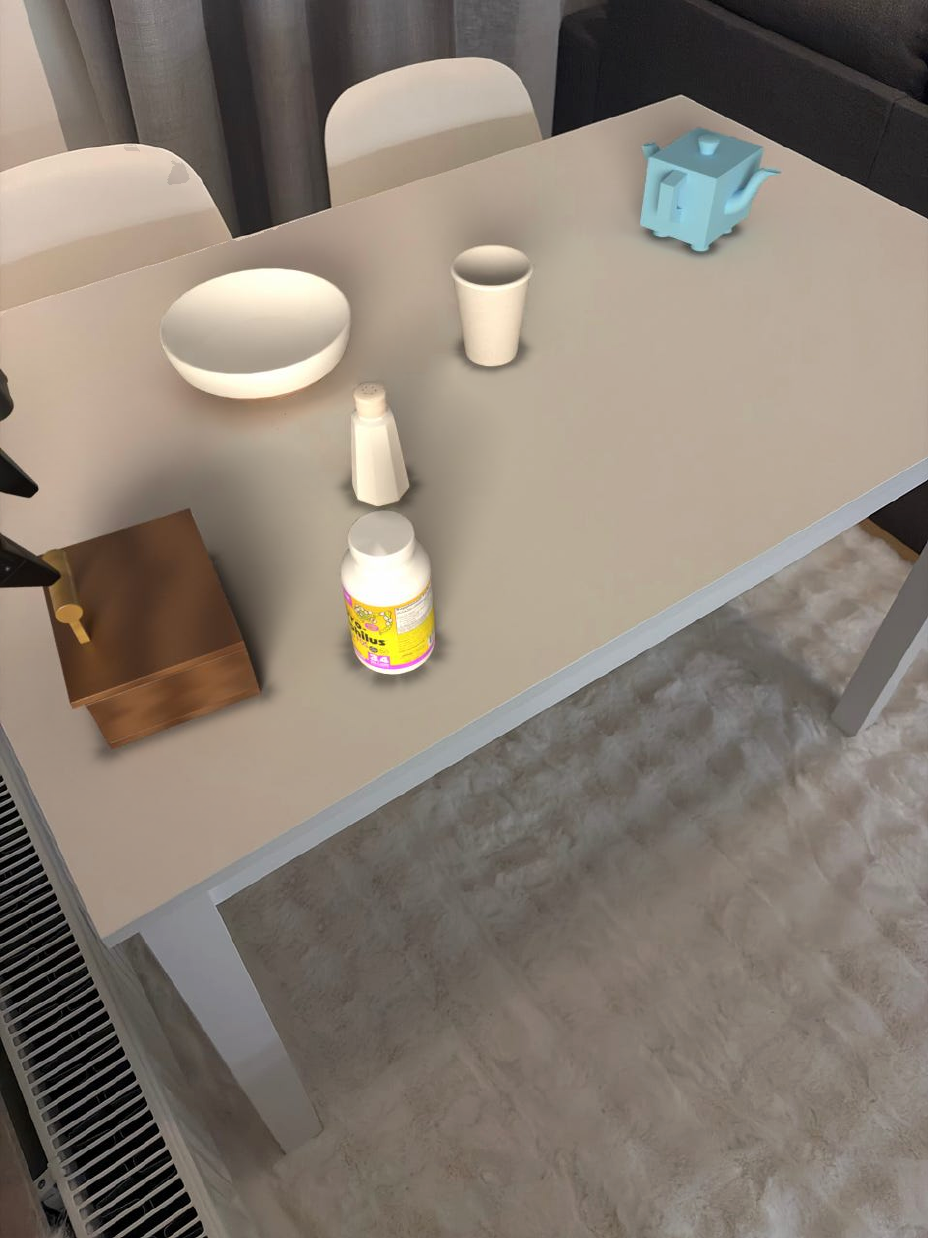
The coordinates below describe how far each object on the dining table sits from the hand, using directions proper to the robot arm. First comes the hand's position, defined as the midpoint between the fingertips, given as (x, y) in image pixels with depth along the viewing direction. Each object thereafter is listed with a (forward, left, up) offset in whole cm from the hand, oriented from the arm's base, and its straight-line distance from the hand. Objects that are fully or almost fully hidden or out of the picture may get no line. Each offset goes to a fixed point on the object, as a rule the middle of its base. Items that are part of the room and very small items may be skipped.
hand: (45, 534), depth 62 cm
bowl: (+23, +33, -15) cm, 43 cm away
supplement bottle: (+21, -8, -15) cm, 27 cm away
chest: (+4, 0, -15) cm, 15 cm away
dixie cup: (+46, +25, -15) cm, 55 cm away
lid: (+4, 0, -9) cm, 10 cm away
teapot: (+80, +36, -15) cm, 89 cm away
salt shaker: (+27, +10, -15) cm, 32 cm away
